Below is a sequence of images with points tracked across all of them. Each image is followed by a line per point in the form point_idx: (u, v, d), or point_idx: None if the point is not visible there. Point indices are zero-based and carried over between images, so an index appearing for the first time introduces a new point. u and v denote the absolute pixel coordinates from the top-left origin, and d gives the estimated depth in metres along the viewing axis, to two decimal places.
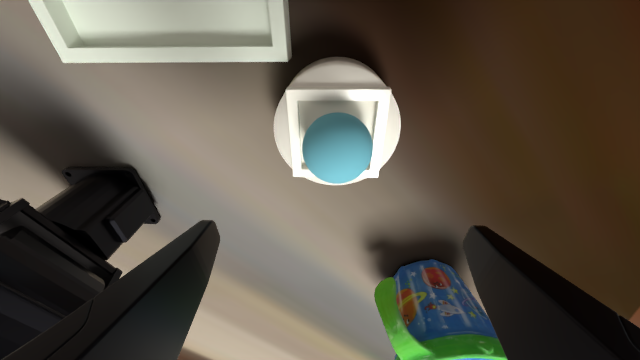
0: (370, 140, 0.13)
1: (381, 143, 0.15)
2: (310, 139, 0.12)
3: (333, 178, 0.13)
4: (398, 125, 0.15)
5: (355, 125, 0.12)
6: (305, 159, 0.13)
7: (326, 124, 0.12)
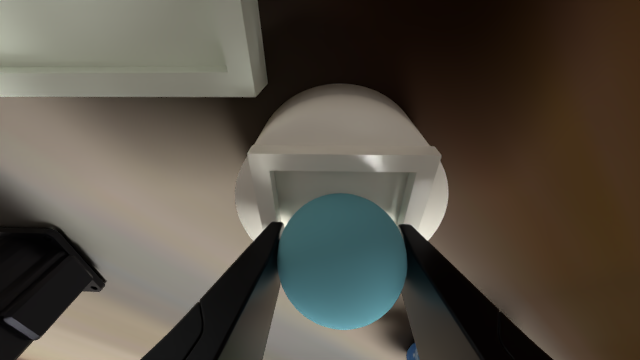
0: (405, 256, 0.07)
1: None
2: (288, 258, 0.06)
3: (333, 328, 0.07)
4: (443, 202, 0.09)
5: (377, 237, 0.06)
6: (282, 285, 0.07)
7: (319, 234, 0.06)
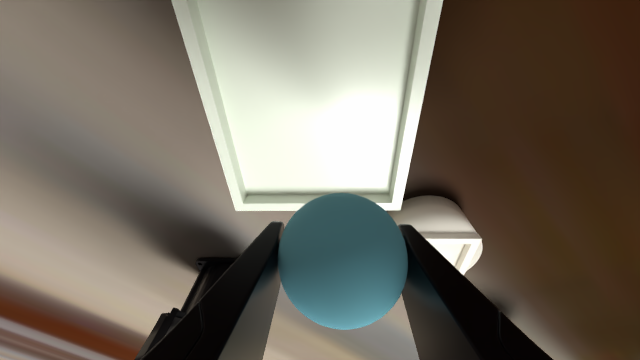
0: (405, 256, 0.07)
1: (467, 265, 0.21)
2: (289, 258, 0.06)
3: (334, 328, 0.07)
4: (480, 252, 0.20)
5: (377, 236, 0.06)
6: (282, 284, 0.07)
7: (320, 233, 0.06)
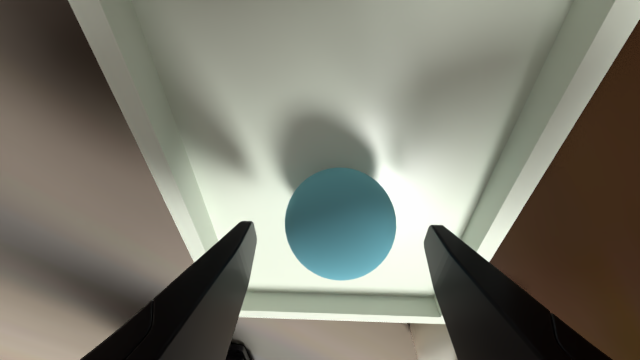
0: (394, 218, 0.08)
1: None
2: (295, 218, 0.08)
3: (334, 279, 0.08)
4: None
5: (369, 198, 0.07)
6: (289, 244, 0.08)
7: (321, 196, 0.07)
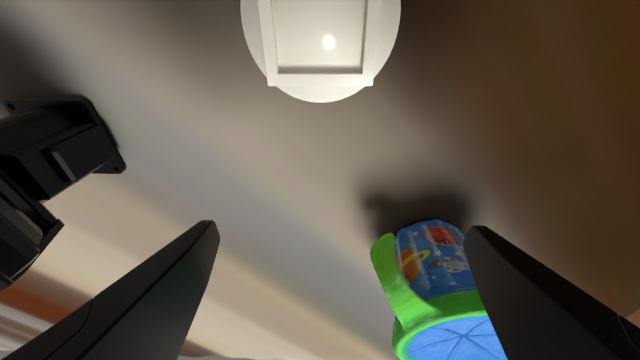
0: None
1: (376, 31, 0.12)
2: None
3: None
4: (398, 7, 0.12)
5: None
6: None
7: None
